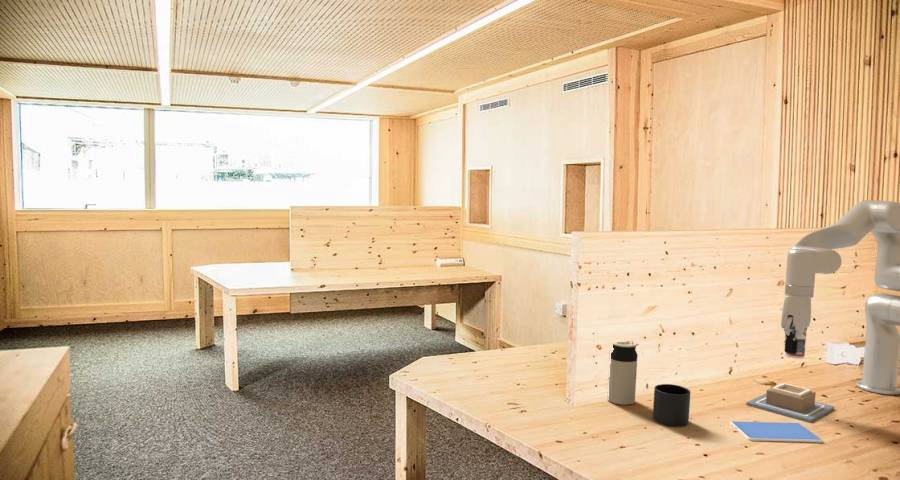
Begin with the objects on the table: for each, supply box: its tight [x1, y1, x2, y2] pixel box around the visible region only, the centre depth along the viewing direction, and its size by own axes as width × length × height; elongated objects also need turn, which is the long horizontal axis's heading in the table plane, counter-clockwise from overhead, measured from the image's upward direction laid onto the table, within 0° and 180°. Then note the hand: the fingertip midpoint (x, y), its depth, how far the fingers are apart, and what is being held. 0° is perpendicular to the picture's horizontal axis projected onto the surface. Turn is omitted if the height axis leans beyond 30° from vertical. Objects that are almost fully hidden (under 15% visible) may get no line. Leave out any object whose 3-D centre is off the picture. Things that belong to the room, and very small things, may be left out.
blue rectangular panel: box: [729, 420, 824, 444], centre depth 175 cm, size 19×13×1 cm, turn 89°
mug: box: [652, 383, 691, 428], centre depth 183 cm, size 9×12×9 cm
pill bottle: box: [784, 327, 807, 359], centre depth 194 cm, size 5×5×9 cm
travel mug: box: [607, 340, 638, 406], centre depth 196 cm, size 8×8×18 cm
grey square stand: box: [745, 382, 835, 423], centre depth 196 cm, size 18×18×6 cm
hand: (794, 350), depth 194 cm, fingers closed on pill bottle, 5 cm apart
